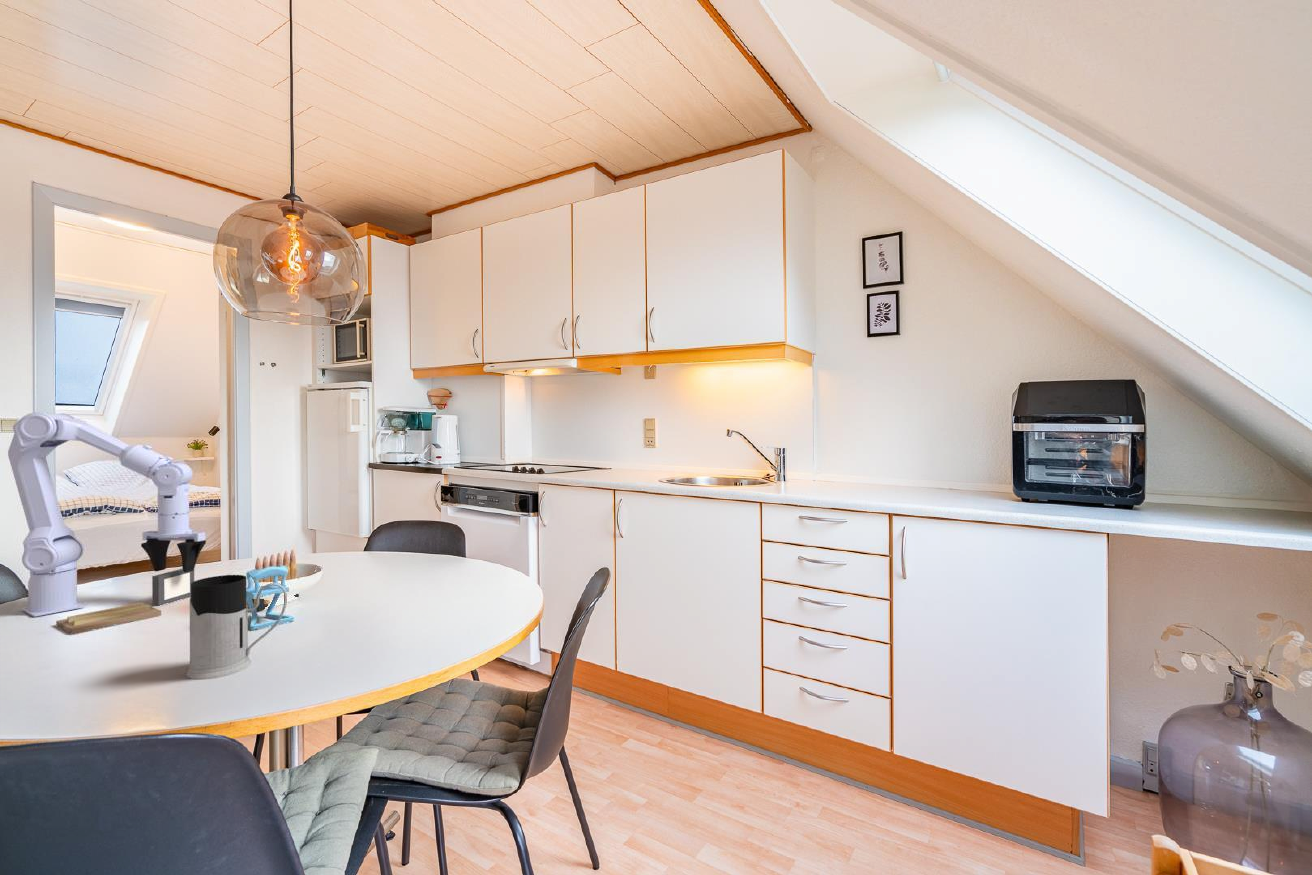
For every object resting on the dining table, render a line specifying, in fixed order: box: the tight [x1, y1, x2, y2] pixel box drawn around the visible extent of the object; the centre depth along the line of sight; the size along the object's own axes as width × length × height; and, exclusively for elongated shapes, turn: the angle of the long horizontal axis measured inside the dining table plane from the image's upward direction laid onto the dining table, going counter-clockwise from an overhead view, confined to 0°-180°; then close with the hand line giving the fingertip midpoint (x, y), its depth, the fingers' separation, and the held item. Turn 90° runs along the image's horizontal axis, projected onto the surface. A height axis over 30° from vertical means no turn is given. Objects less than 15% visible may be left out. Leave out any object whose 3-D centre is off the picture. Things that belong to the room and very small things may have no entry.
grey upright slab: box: [151, 568, 195, 607], centre depth 136 cm, size 2×9×7 cm, turn 174°
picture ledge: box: [55, 601, 162, 635], centre depth 122 cm, size 10×14×2 cm
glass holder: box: [186, 574, 288, 680], centre depth 98 cm, size 9×14×15 cm, turn 111°
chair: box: [245, 564, 295, 631], centre depth 121 cm, size 8×8×12 cm
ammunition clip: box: [252, 549, 300, 613], centre depth 133 cm, size 11×2×12 cm, turn 165°
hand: (174, 570), depth 136 cm, fingers open, 7 cm apart
